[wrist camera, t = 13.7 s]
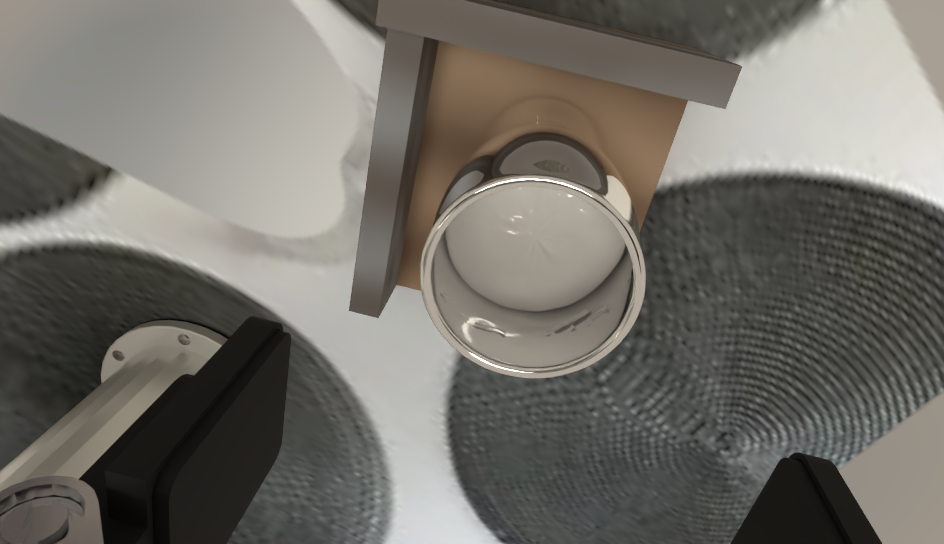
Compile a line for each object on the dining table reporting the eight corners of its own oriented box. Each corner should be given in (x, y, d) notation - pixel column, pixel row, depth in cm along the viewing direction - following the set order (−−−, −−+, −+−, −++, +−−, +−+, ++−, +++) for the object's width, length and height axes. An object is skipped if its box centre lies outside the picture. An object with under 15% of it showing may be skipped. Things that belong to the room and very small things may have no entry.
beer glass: (639, 151, 30) (708, 279, 16) (545, 245, 33) (538, 421, 19) (536, 56, 29) (518, 113, 15) (448, 163, 31) (367, 290, 18)
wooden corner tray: (599, 318, 36) (610, 399, 29) (379, 264, 37) (336, 329, 30) (696, 48, 29) (742, 66, 22) (423, -17, 30) (381, -20, 23)
